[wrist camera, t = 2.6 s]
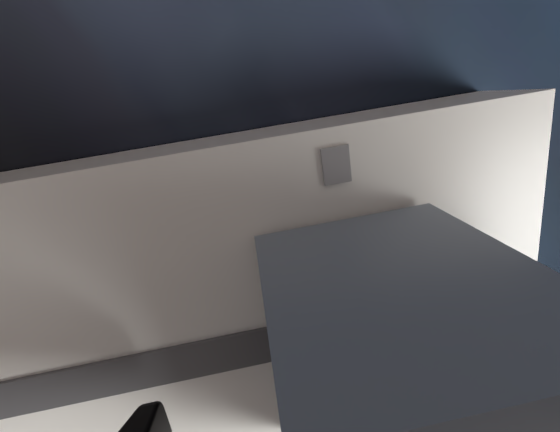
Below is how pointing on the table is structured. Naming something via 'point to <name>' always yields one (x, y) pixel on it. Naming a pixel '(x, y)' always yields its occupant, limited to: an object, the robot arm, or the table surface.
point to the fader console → (225, 250)
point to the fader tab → (409, 327)
